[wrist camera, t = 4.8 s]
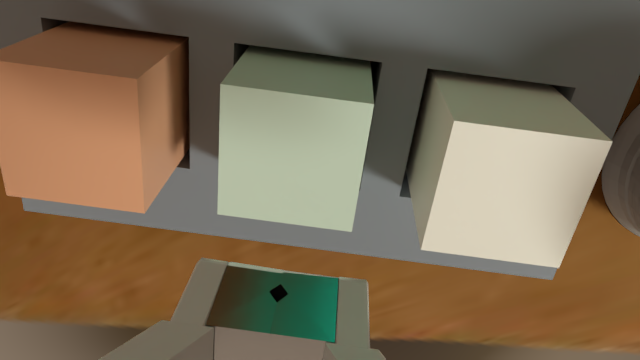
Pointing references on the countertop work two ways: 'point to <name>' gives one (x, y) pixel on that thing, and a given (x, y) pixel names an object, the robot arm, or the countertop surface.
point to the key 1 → (93, 115)
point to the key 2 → (500, 168)
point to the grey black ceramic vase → (624, 174)
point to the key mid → (294, 137)
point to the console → (388, 90)
